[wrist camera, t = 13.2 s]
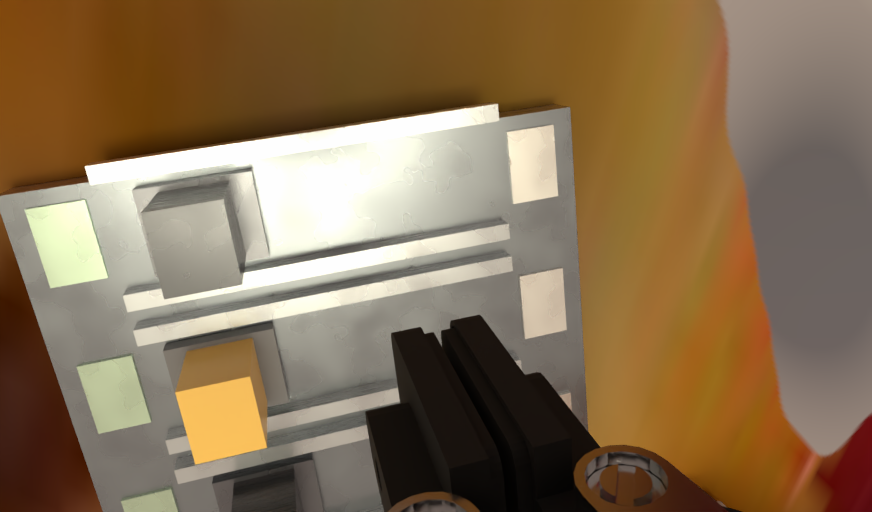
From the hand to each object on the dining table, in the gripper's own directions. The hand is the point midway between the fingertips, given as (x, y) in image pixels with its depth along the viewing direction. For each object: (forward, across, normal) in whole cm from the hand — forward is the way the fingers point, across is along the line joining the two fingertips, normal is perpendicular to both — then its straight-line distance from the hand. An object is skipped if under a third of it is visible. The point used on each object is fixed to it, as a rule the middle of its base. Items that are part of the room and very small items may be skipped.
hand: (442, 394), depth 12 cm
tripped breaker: (+20, +7, +9) cm, 23 cm away
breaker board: (+22, +1, +9) cm, 24 cm away
